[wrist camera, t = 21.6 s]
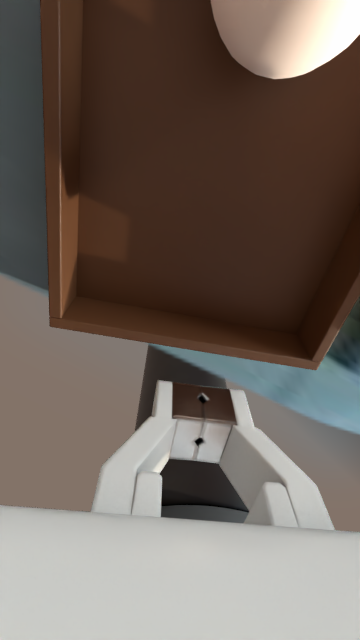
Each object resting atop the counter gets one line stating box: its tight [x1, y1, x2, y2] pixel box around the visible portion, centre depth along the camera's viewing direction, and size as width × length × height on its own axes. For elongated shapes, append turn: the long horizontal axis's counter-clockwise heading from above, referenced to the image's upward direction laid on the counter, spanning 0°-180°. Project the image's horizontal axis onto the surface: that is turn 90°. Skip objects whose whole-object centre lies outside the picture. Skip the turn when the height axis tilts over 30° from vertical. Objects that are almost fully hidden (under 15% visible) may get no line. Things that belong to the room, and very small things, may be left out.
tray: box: [40, 0, 360, 370], centre depth 12 cm, size 19×14×3 cm
